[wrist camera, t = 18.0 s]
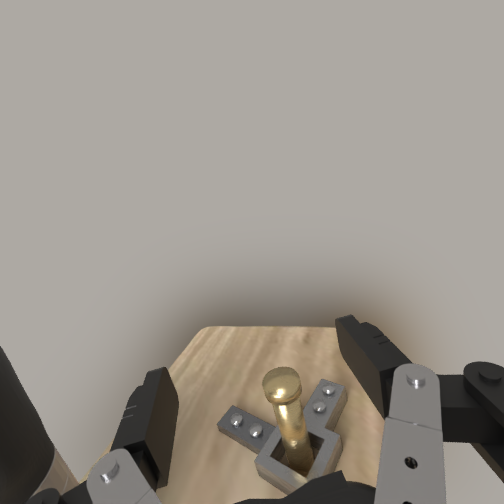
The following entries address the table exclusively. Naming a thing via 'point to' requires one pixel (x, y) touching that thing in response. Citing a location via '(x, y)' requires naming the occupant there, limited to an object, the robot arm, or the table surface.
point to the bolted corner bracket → (271, 445)
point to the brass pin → (290, 417)
